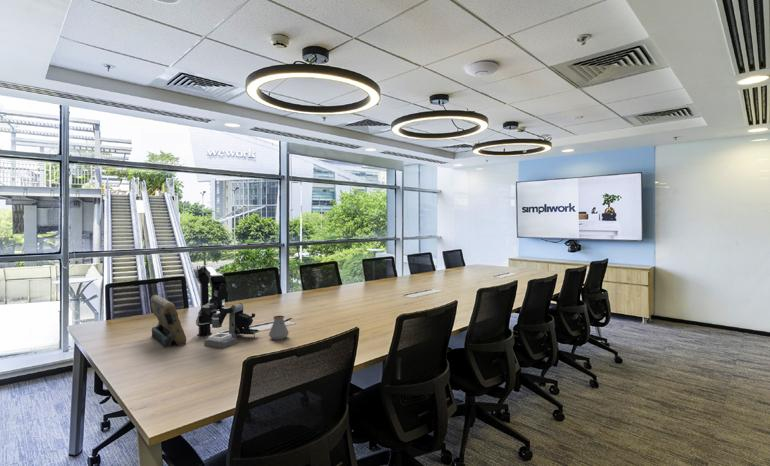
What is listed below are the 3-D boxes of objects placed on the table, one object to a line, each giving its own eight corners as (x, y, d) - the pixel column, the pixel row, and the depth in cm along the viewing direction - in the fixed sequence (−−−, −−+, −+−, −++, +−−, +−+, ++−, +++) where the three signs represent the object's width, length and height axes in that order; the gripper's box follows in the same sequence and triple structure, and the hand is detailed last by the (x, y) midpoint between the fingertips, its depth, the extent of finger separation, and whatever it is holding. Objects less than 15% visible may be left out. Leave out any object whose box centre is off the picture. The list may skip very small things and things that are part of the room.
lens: (209, 327, 222) (209, 314, 221) (217, 325, 226) (217, 312, 226) (216, 328, 220) (216, 315, 219) (224, 326, 224) (223, 313, 224)
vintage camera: (251, 341, 231) (253, 307, 231) (227, 338, 234) (229, 305, 234) (260, 336, 241) (261, 304, 240) (237, 334, 244) (238, 302, 243)
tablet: (192, 343, 226) (191, 299, 225) (165, 349, 215) (165, 303, 214) (170, 332, 247) (169, 292, 246) (145, 336, 237) (144, 295, 236)
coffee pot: (265, 337, 237) (265, 312, 237) (283, 334, 245) (283, 310, 244) (282, 346, 221) (282, 319, 221) (300, 342, 229) (300, 316, 229)
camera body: (204, 345, 222) (204, 336, 222) (217, 340, 232) (217, 331, 231) (223, 348, 217) (223, 339, 217) (236, 343, 226) (236, 334, 226)
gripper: (192, 297, 219) (193, 325, 219) (217, 300, 211) (218, 329, 212) (209, 294, 229) (209, 321, 230) (233, 297, 222) (233, 324, 222)
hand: (217, 324), depth 223 cm, fingers closed on lens, 5 cm apart
